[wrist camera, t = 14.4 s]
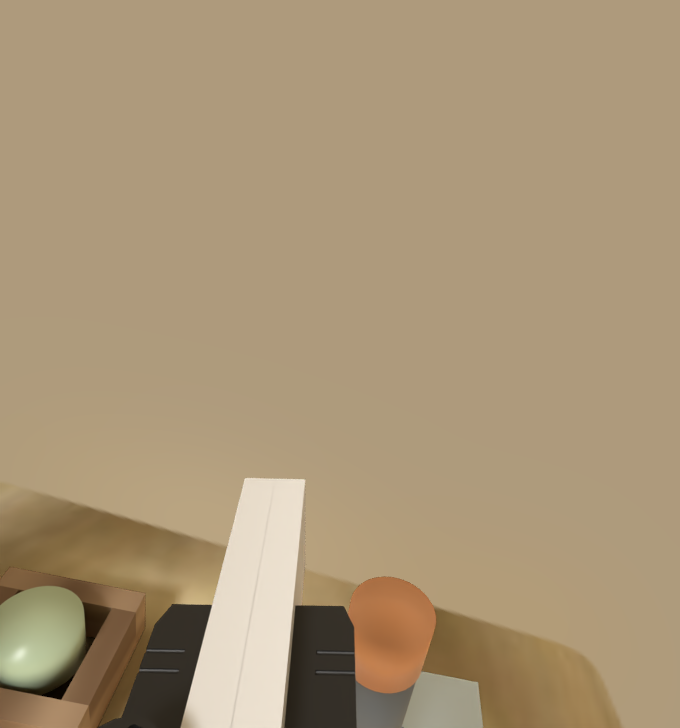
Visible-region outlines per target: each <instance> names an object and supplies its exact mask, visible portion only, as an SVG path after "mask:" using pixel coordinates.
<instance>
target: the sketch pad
mask: <svg viewBox="0 0 680 728" xmlns="http://www.w3.org/2000/svg"><path fill="white" fill-rule="evenodd" d="M401 728H483V721H482V713H481V704H480V695H479V686H478V682H474V681H469V680H464V679H459V678H454V677H449V676H444V675H438V674H433V673H428V672H423V671H421V674H420V676H419V678H418V680H417V681H416V683H415V686H414V689H413V692H412V696H411V699H410V702H409V705H408V708H407V712H406V715H405V718H404V721H403V724H402V727H401Z"/></svg>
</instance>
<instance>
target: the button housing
mask: <svg viewBox="0 0 680 728" xmlns="http://www.w3.org/2000/svg"><path fill="white" fill-rule="evenodd" d="M41 586H57V587H62V588H65V589H68V590H70V591H72V592H73V593H75V594H76V595H77V596H78V597H79V598H80V600H81V602H82V604H83V608H84V617H85V631H86V636H88V637H93V638H95V640H94V642H93V643H92V645H91V647H90V649H89V651H88V653H87V654H86V656H85V658H84V660H83V662H82V663H81V665H80V667H79V669H78V671H77V672H76V674H75V676H74V678H73V680H72V681H71V683H70V685H69V687H68V689H67V691H66V692H65V694H64V696H63V698H62V700H59V699H54V698H49V697H44V696H39V695H34V694H29V693H24V692H19V691H14V690H9V689H4V688H0V728H98V726H99V724H100V721H101V719H102V717H103V715H104V713H105V711H106V709H107V707H108V705H109V702H110V700H111V698H112V696H113V694H114V692H115V690H116V688H117V686H118V683H119V681H120V679H121V677H122V675H123V673H124V671H125V669H126V667H127V664H128V662H129V660H130V658H131V656H132V654H133V652H134V650H135V648H136V645H137V643H138V641H139V639H140V637H141V635H142V633H143V631H144V629H145V593H142V592H137V591H131V590H126V589H121V588H116V587H111V586H106V585H101V584H96V583H91V582H86V581H81V580H75V579H70V578H65V577H60V576H55V575H50V574H45V573H40V572H35V571H30V570H24V569H19V568H14V567H9V569H8V570H7V571H6V572H5V574H4V575H3V576H2V577H1V579H0V605H1V604H2V603H4V602H5V601H6V600H8V599H9V598H11V597H12V596H14V595H16V594H18V593H20V592H22V591H25V590H28V589H31V588H35V587H41Z"/></svg>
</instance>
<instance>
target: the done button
mask: <svg viewBox="0 0 680 728" xmlns="http://www.w3.org/2000/svg"><path fill="white" fill-rule="evenodd" d="M86 645H87V644H86V631H85V617H84V608H83V604H82V602H81V600H80V598H79V597H78V596H77V595H76V594H75V593H73V592H72V591H70V590H68V589H65V588H62V587H57V586H41V587H35V588H31V589H28V590H25V591H22V592H20V593H18V594H16V595H14V596H12V597H11V598H9V599H8V600H6V601H5V602H4V603H2V604H1V605H0V688H4V689H9V690H14V691H19V692H24V693H29V694H34V695H42V694H45V693H47V692H50V691H52V690H54V689H56V688H58V687H59V686H61V685H62V684H64V683H65V682H66V681H68V680H69V679H70V678H71V677H72V676H73V675H74V674H75V673H76V672H77V670H78V669H79V667H80V665H81V663H82V662H83V660H84V658H85V654H86Z"/></svg>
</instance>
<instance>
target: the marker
mask: <svg viewBox="0 0 680 728" xmlns="http://www.w3.org/2000/svg"><path fill="white" fill-rule="evenodd" d="M348 616H349V618H350V620H351V622H352V624H353V626H354V637H355V678H356V719H357V728H401V727H402V724H403V721H404V718H405V715H406V712H407V708H408V705H409V702H410V699H411V696H412V692H413V689H414V686H415V683H416V681H417V680H418V678H419V676H420V674H421V671H422V668H423V665H424V662H425V659H426V655H427V652H428V649H429V646H430V643H431V640H432V637H433V633H434V630H435V626H436V614H435V610H434V608H433V605H432V603H431V602H430V601H429V599H428V598H427V596H426V595H425V594H424V593H423V592H422V591H421V590H420V589H418V588H417V587H416V586H414V585H412V584H411V583H409V582H407V581H404V580H401V579H398V578H394V577H376V578H372V579H369V580H367V581H365V582H363V583H362V584H361V585H359V586H358V587H357V588H356V590H355V591H354V593H353V595H352V598H351V602H350V607H349V611H348Z"/></svg>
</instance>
